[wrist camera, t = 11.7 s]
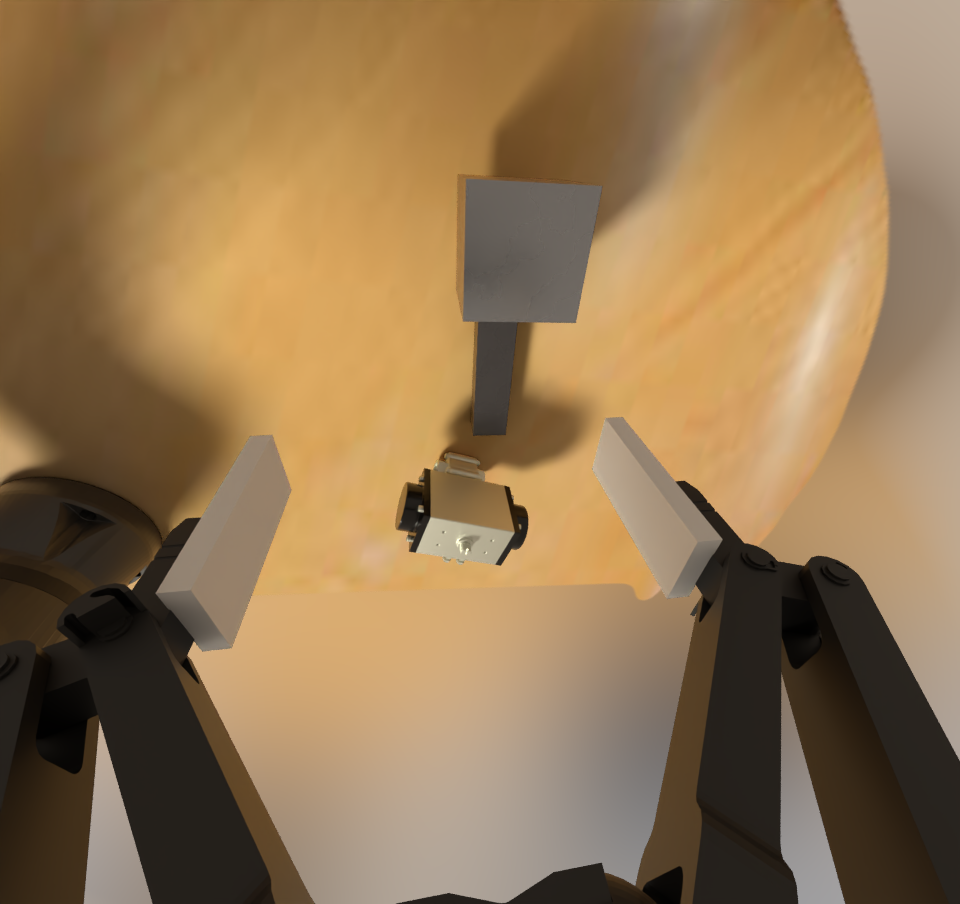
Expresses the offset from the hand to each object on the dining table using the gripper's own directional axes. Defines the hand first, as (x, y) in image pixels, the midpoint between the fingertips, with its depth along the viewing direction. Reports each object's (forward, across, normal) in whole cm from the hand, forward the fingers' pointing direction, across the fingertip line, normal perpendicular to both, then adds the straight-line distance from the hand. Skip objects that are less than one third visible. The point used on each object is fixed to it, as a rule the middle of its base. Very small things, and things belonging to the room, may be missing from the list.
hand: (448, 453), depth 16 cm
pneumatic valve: (+21, +2, -18) cm, 27 cm away
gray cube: (+17, +5, +5) cm, 19 cm away
